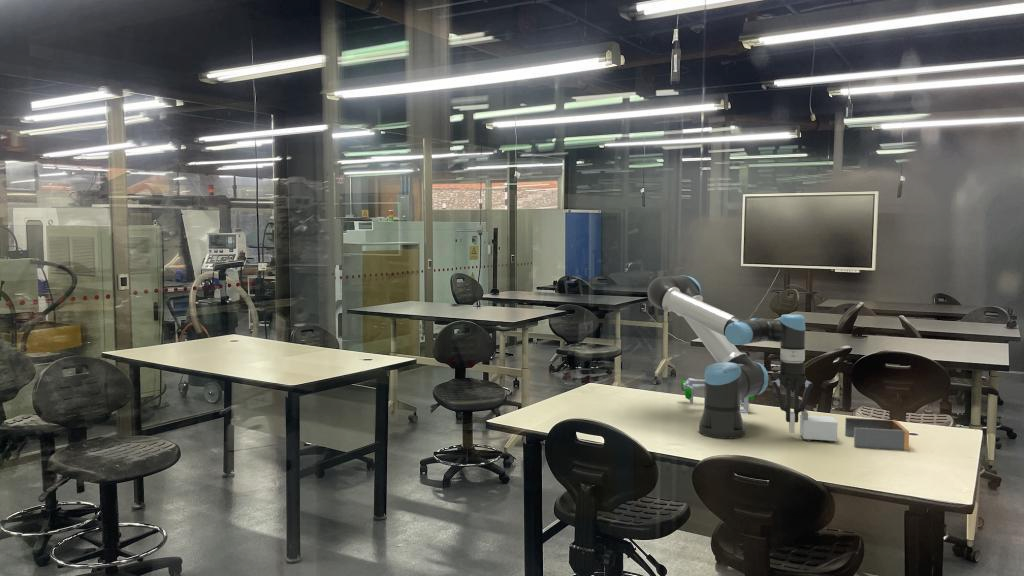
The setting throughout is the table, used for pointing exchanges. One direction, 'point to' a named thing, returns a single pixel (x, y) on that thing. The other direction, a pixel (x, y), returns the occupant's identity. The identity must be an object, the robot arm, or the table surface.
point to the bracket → (691, 389)
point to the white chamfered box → (818, 427)
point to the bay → (877, 433)
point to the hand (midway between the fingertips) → (791, 431)
